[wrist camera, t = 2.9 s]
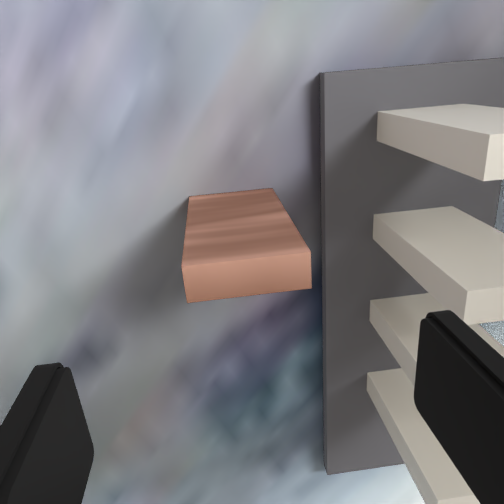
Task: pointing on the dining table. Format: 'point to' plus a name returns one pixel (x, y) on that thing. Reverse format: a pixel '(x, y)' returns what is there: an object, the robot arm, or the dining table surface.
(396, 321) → the domino
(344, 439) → the mat
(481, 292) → the domino
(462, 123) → the domino
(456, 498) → the domino
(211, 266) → the domino
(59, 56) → the dining table surface
